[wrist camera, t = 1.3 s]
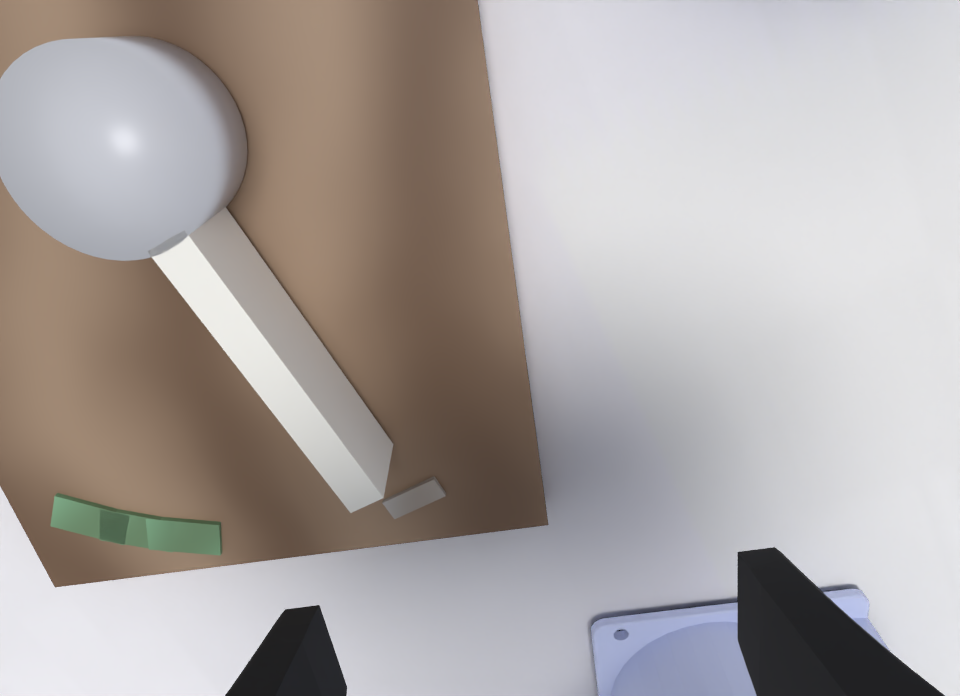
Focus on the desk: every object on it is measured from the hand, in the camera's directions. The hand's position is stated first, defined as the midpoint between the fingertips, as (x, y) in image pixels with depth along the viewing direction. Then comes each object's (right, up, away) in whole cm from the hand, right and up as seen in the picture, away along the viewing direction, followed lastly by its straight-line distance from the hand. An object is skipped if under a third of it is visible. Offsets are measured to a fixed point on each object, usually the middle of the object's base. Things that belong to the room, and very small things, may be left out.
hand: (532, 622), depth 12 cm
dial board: (-8, +7, +7) cm, 13 cm away
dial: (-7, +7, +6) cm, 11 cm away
